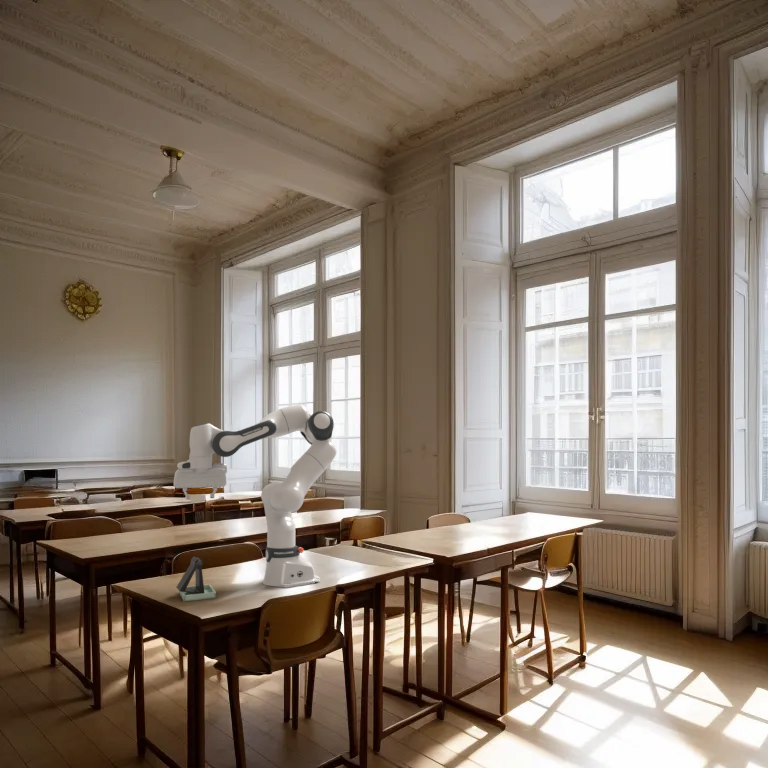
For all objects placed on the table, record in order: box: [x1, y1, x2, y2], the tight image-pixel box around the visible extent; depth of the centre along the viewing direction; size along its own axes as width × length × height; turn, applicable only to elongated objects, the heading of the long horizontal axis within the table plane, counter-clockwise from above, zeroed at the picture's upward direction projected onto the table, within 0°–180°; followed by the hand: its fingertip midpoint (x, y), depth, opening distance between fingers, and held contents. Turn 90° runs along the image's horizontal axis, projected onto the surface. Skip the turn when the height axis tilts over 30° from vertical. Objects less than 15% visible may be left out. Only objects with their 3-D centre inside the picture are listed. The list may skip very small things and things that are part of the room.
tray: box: [178, 583, 217, 603], centre depth 235 cm, size 11×13×2 cm
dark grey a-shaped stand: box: [176, 556, 205, 594], centre depth 237 cm, size 9×6×12 cm, turn 118°
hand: (200, 498), depth 255 cm, fingers open, 8 cm apart
